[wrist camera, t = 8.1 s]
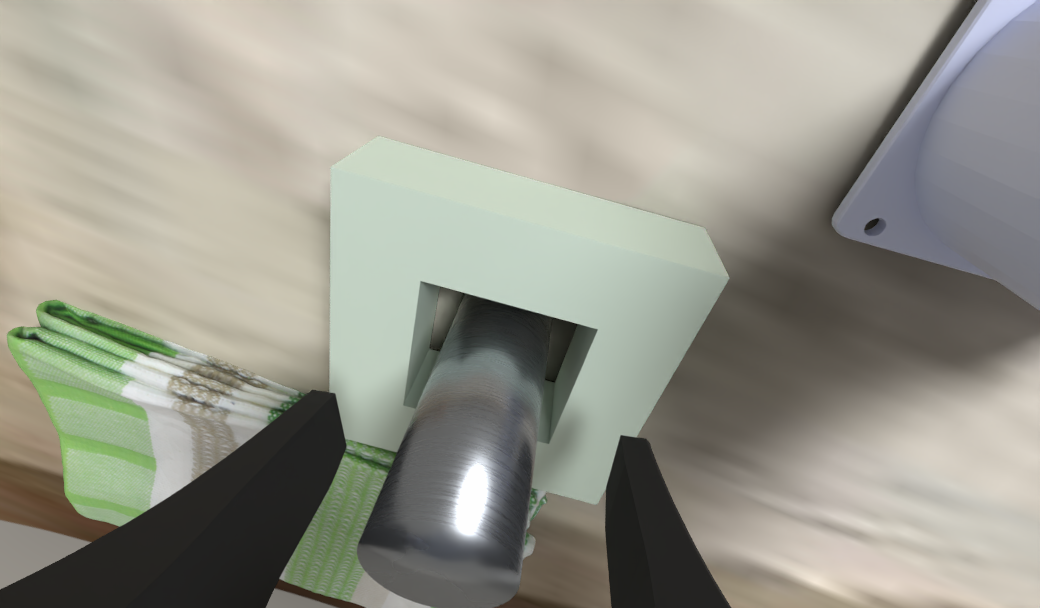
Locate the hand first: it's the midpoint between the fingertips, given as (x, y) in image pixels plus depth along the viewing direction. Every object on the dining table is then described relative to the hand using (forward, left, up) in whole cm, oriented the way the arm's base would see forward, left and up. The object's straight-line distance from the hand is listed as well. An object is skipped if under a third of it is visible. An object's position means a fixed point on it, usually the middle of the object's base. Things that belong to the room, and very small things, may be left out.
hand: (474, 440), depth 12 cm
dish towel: (+8, +15, -7) cm, 18 cm away
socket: (0, 0, -6) cm, 6 cm away
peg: (0, 0, -6) cm, 6 cm away
